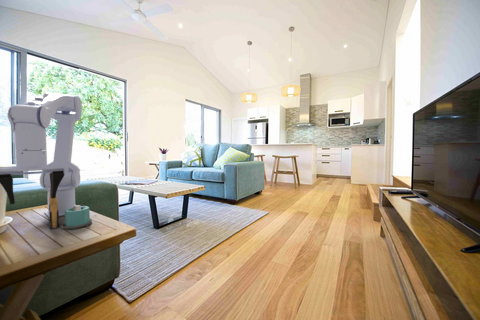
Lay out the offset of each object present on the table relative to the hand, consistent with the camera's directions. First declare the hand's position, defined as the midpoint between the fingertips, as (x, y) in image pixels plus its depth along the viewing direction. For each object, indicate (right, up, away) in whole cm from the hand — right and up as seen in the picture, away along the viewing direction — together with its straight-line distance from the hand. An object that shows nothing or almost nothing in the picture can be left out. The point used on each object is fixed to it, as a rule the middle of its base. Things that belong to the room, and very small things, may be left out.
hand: (33, 200), depth 53 cm
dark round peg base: (+6, -9, +7) cm, 13 cm away
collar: (+6, -8, +7) cm, 13 cm away
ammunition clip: (-2, -9, +8) cm, 13 cm away
